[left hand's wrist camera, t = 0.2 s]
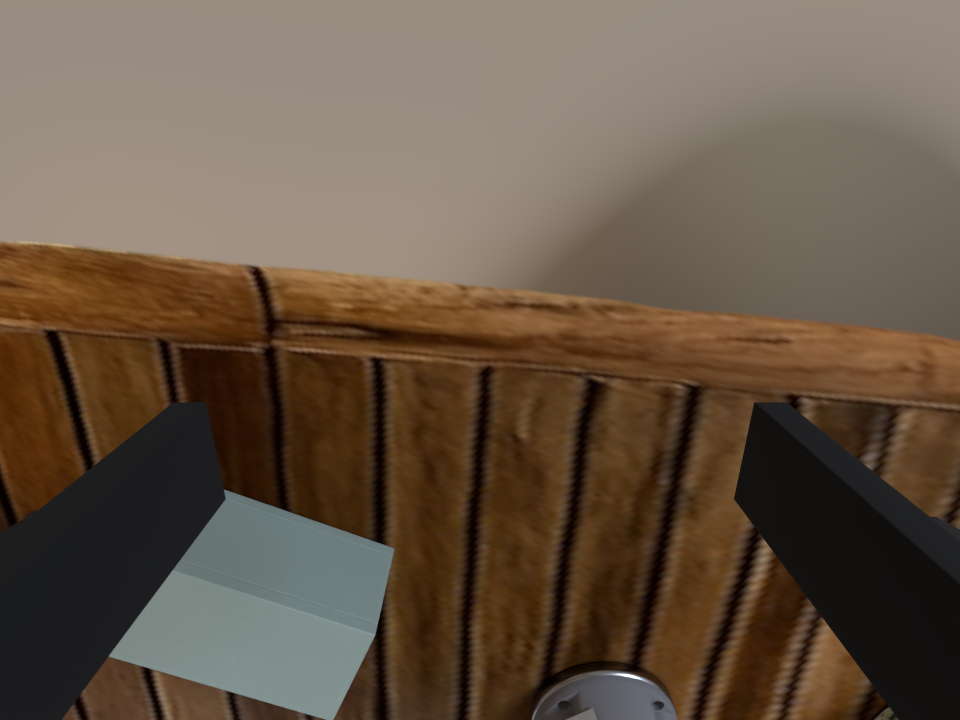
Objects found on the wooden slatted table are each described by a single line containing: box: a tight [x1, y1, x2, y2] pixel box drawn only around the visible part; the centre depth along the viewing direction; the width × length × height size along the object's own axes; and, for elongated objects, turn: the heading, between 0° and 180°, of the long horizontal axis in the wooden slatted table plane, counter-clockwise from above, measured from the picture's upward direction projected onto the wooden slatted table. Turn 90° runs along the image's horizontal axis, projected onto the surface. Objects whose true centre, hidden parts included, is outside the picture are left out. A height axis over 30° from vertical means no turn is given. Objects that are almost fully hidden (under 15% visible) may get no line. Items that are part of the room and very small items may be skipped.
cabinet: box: [109, 490, 394, 720], centre depth 44 cm, size 19×10×10 cm, turn 66°
